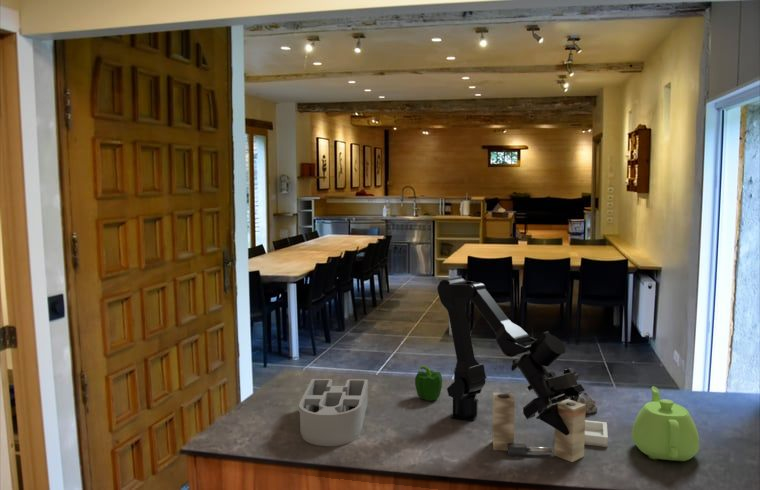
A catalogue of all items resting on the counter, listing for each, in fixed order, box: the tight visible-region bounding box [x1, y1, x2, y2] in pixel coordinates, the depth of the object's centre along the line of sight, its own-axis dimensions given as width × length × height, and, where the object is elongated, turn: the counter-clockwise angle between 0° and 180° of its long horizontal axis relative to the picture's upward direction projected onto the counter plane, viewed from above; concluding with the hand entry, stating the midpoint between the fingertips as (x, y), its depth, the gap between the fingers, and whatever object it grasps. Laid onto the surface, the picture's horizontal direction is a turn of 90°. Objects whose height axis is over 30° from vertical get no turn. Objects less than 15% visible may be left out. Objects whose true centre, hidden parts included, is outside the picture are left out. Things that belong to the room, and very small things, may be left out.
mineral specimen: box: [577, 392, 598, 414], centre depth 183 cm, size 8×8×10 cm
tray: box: [584, 419, 609, 448], centre depth 165 cm, size 12×10×2 cm
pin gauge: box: [506, 442, 553, 457], centre depth 155 cm, size 10×2×2 cm, turn 87°
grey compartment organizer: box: [298, 378, 369, 447], centre depth 174 cm, size 17×28×9 cm, turn 176°
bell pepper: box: [414, 365, 443, 402], centre depth 194 cm, size 8×8×10 cm
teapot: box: [631, 386, 700, 462], centre depth 156 cm, size 22×15×13 cm
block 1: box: [492, 392, 515, 452], centre depth 159 cm, size 5×5×13 cm
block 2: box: [553, 399, 587, 463], centre depth 153 cm, size 5×5×13 cm
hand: (574, 431), depth 152 cm, fingers closed on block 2, 5 cm apart
